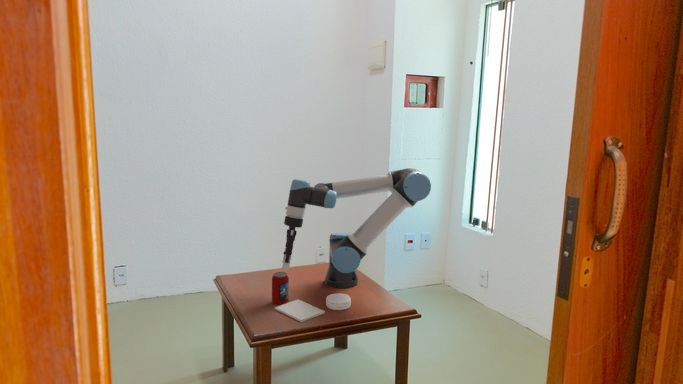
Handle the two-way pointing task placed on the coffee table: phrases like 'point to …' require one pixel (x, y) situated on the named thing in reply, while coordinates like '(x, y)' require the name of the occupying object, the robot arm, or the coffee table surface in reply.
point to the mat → (299, 310)
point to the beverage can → (280, 288)
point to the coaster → (338, 301)
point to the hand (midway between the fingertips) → (285, 266)
